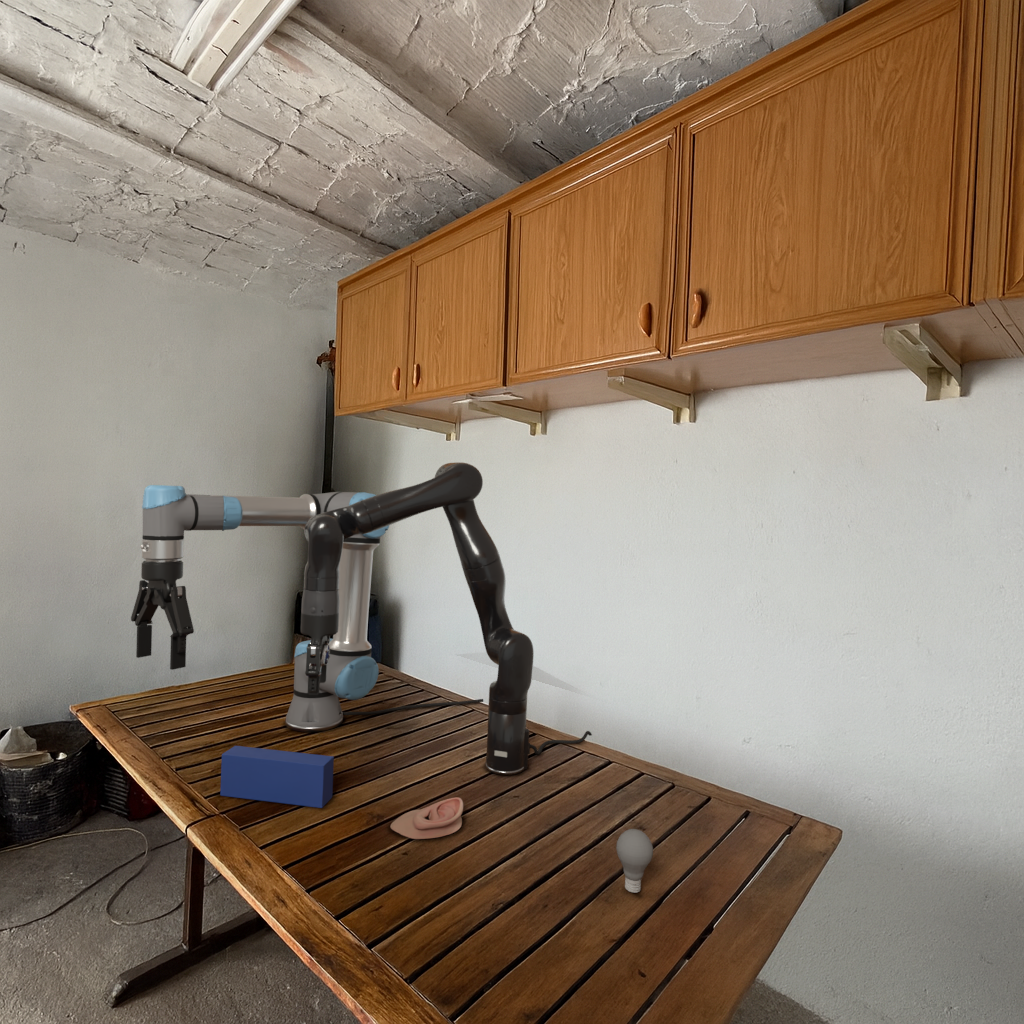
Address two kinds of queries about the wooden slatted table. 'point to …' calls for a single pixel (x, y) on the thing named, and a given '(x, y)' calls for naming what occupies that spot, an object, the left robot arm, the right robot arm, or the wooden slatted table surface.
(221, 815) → the wooden slatted table surface
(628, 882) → the light bulb
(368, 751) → the wooden slatted table surface
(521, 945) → the wooden slatted table surface
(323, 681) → the right robot arm
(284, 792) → the bar
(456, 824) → the anatomical model
